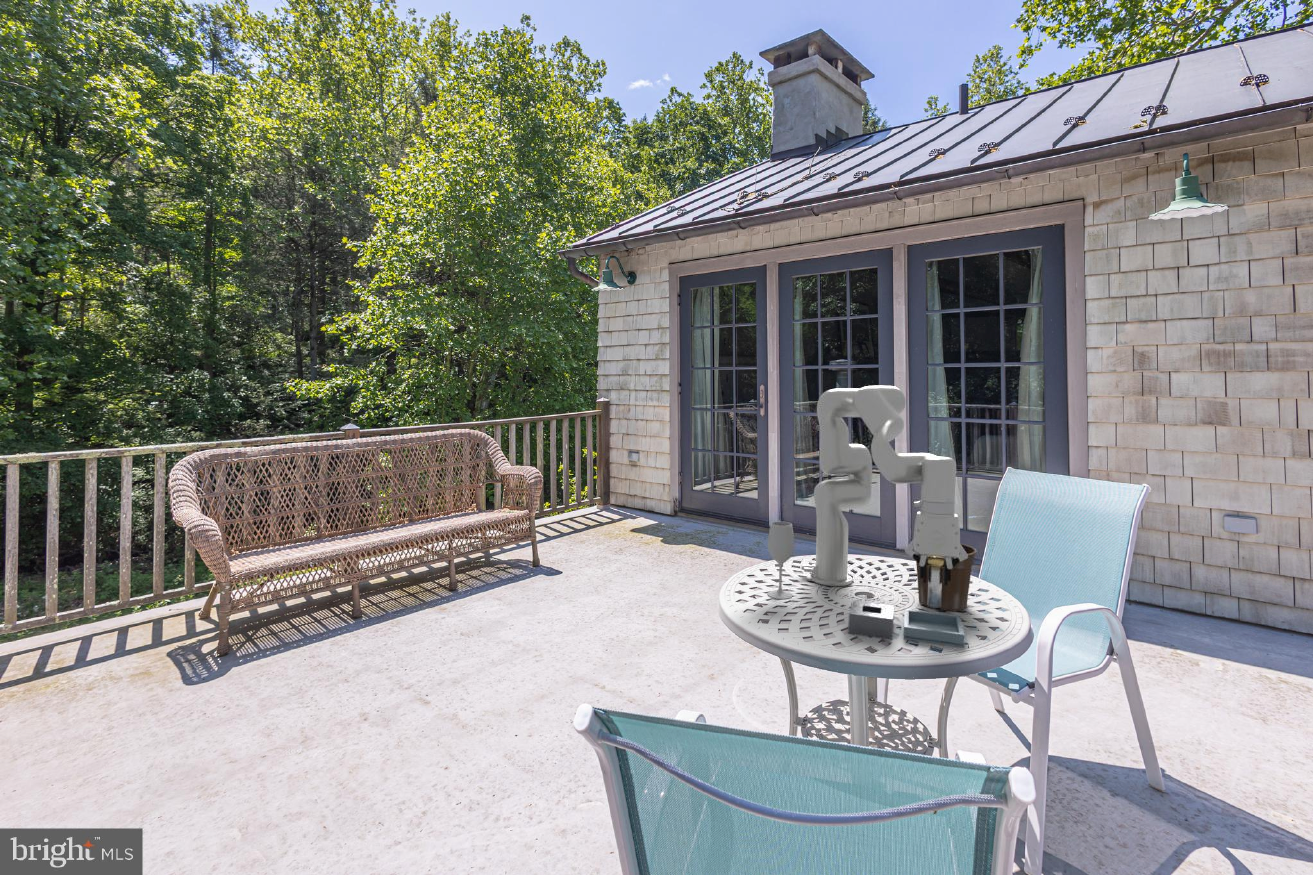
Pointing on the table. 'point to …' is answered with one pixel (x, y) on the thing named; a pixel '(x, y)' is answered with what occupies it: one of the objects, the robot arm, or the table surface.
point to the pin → (935, 579)
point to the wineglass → (781, 552)
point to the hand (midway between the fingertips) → (935, 581)
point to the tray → (933, 628)
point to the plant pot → (951, 584)
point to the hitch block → (871, 619)
